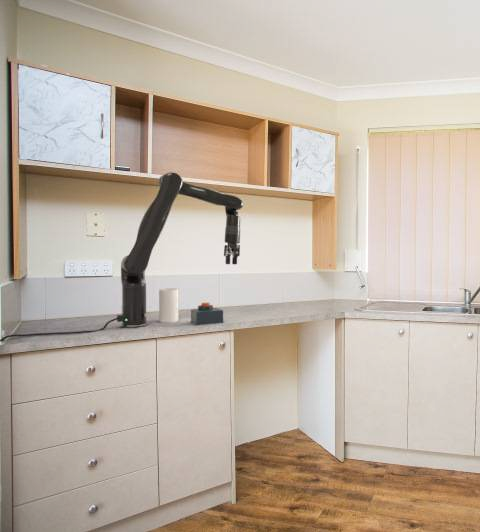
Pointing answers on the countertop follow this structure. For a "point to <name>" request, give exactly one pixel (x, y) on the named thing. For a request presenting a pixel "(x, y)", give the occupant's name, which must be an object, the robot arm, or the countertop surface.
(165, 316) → the cup
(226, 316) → the countertop surface
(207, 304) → the button
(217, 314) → the grey button base
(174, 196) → the robot arm
